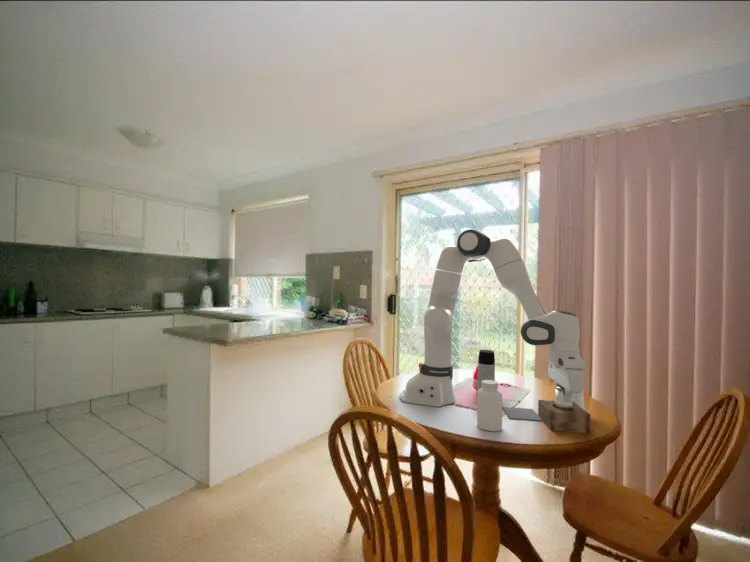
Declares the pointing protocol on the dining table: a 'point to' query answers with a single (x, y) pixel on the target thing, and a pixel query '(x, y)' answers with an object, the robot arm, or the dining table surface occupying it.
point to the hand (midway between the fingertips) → (563, 398)
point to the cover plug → (561, 399)
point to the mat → (521, 414)
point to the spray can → (486, 366)
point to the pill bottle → (489, 406)
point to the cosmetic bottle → (578, 399)
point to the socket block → (564, 417)
